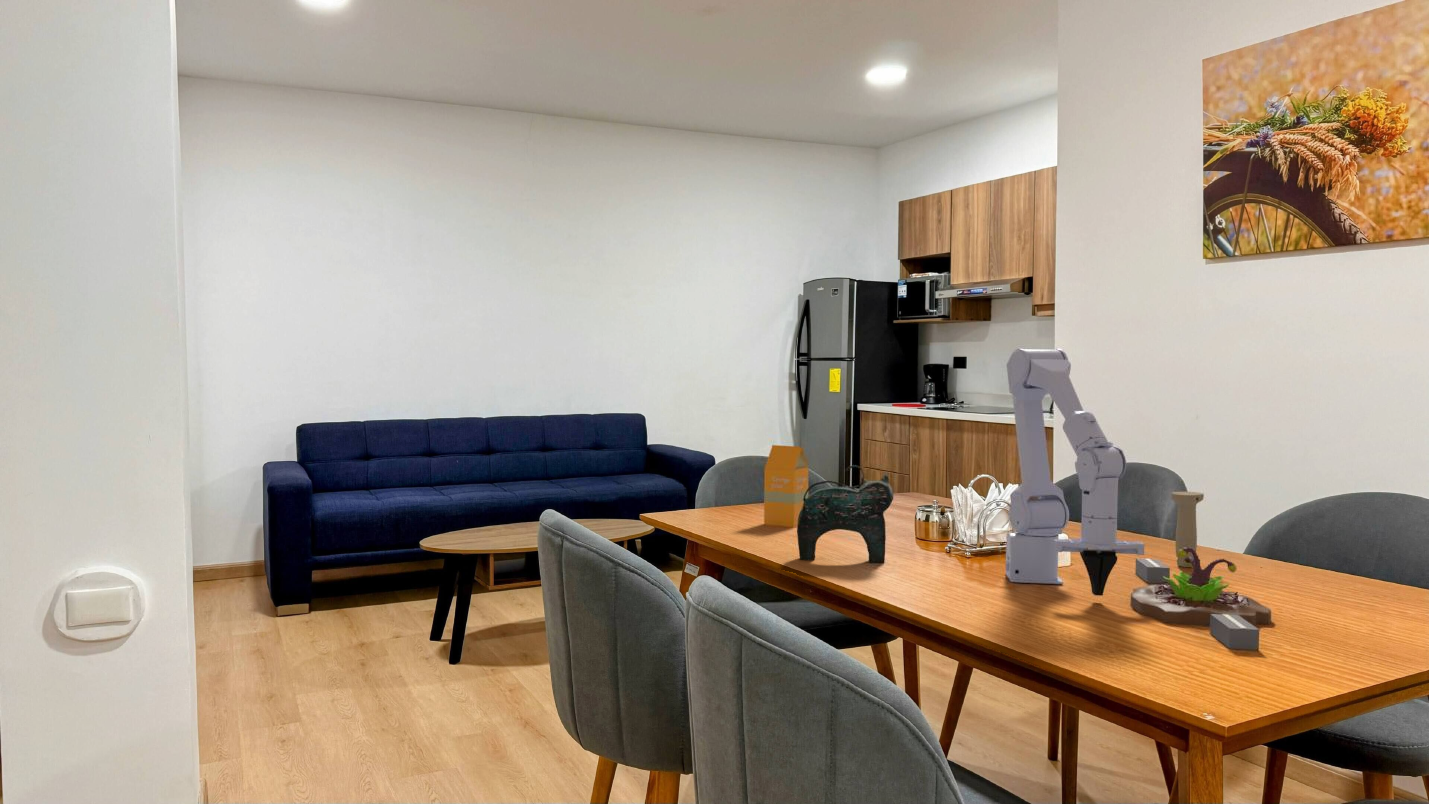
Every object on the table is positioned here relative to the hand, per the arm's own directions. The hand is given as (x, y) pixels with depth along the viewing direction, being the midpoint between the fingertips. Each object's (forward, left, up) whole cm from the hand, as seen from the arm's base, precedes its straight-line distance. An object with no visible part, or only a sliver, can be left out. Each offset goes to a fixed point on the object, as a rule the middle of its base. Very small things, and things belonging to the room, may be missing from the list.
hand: (1097, 594), depth 165 cm
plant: (+15, -4, -2) cm, 15 cm away
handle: (+25, +34, -2) cm, 42 cm away
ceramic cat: (-44, +27, -2) cm, 52 cm away
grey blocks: (+15, 0, -1) cm, 15 cm away
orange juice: (-60, +70, -2) cm, 92 cm away
